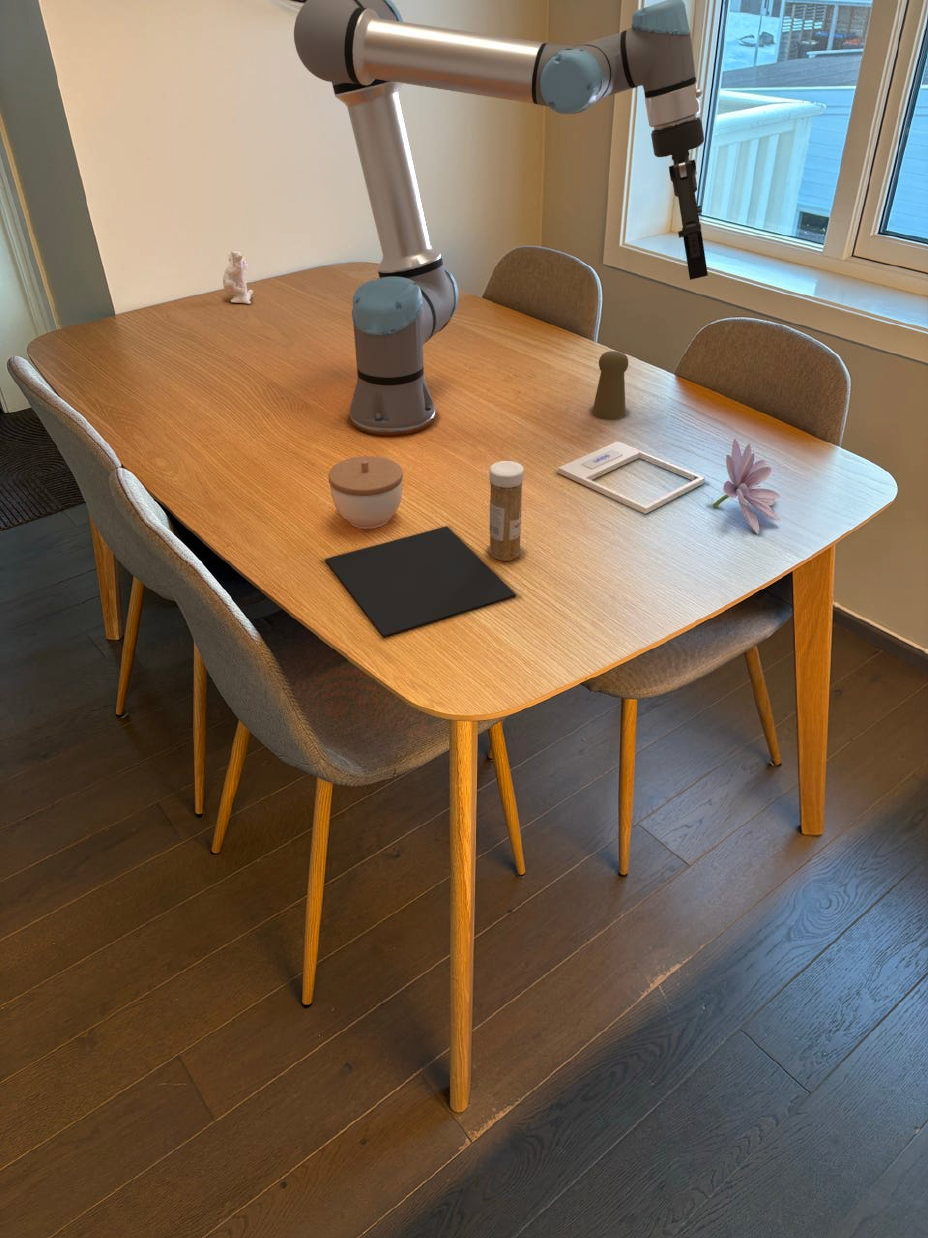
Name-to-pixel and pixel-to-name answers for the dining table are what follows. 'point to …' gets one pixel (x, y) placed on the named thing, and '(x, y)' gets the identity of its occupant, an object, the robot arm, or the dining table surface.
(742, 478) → the water lily
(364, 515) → the trinket box
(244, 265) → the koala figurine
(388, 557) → the mat
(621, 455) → the photo frame
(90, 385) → the dining table surface
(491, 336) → the dining table surface
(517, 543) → the sprinkles bottle
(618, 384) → the brown game pawn
